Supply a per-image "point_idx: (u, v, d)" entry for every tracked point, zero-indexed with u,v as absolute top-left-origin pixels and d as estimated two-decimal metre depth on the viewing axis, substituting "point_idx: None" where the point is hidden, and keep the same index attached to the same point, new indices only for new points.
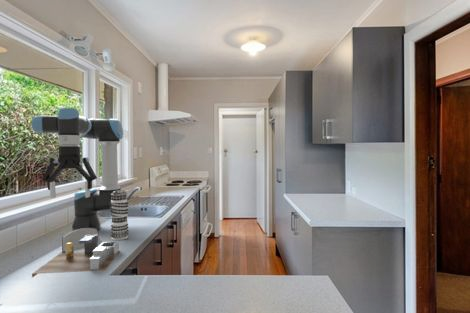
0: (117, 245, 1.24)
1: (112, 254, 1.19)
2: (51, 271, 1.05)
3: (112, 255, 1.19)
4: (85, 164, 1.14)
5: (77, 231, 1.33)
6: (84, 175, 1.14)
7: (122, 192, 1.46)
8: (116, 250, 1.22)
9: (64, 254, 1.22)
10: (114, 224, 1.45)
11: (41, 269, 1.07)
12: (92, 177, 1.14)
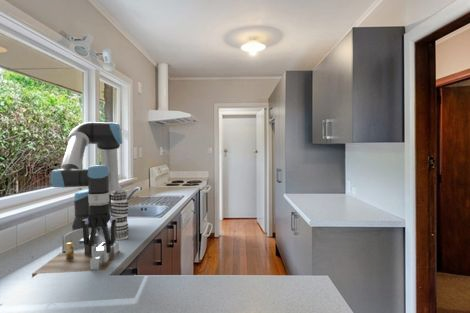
0: (117, 245, 1.24)
1: (112, 254, 1.19)
2: (51, 271, 1.05)
3: (112, 255, 1.19)
4: (112, 226, 1.11)
5: (77, 231, 1.33)
6: (106, 238, 1.11)
7: (122, 192, 1.46)
8: (116, 250, 1.22)
9: (64, 254, 1.22)
10: None
11: (41, 269, 1.07)
12: (112, 241, 1.12)
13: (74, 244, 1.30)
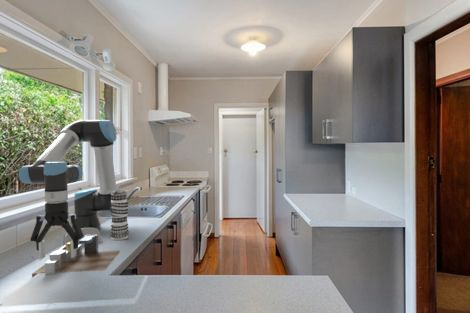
0: (79, 248, 1.20)
1: (72, 258, 1.15)
2: None
3: (72, 259, 1.15)
4: (73, 222, 1.08)
5: None
6: (70, 234, 1.08)
7: (122, 192, 1.46)
8: (78, 253, 1.18)
9: None
10: (114, 224, 1.45)
11: (41, 269, 1.07)
12: (78, 236, 1.08)
13: None
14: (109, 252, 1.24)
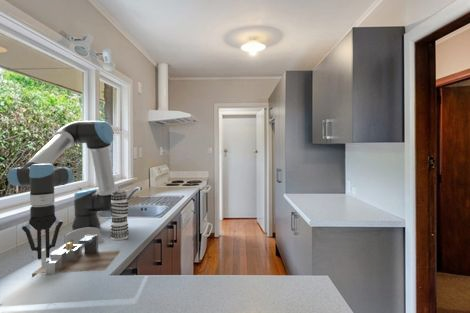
0: (80, 248, 1.20)
1: (73, 258, 1.15)
2: None
3: (73, 259, 1.15)
4: (57, 228, 1.07)
5: (79, 230, 1.34)
6: (47, 241, 1.05)
7: (122, 192, 1.46)
8: (78, 253, 1.18)
9: None
10: (114, 224, 1.45)
11: (41, 269, 1.07)
12: (53, 244, 1.06)
13: (76, 243, 1.31)
14: (109, 252, 1.24)
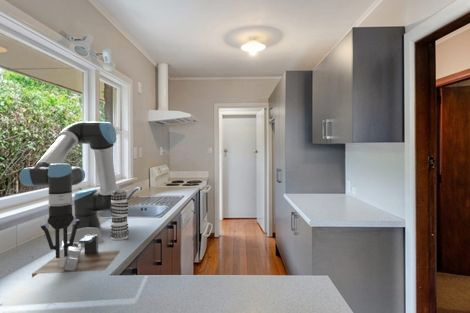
0: None
1: None
2: (51, 271, 1.05)
3: None
4: (75, 227, 1.07)
5: (79, 230, 1.34)
6: (65, 240, 1.06)
7: (122, 192, 1.46)
8: None
9: None
10: (114, 224, 1.45)
11: (41, 269, 1.07)
12: (71, 243, 1.07)
13: None
14: (109, 252, 1.24)
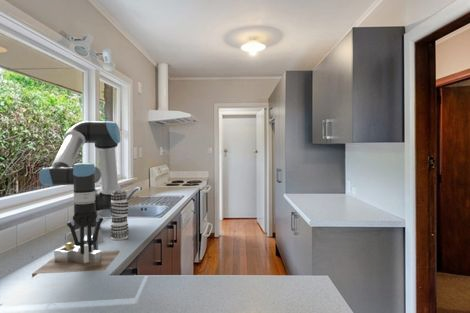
0: None
1: None
2: (51, 271, 1.05)
3: None
4: (98, 224, 1.12)
5: None
6: (89, 237, 1.10)
7: (122, 192, 1.46)
8: None
9: None
10: (114, 224, 1.45)
11: (41, 269, 1.07)
12: (95, 239, 1.11)
13: None
14: (109, 252, 1.24)
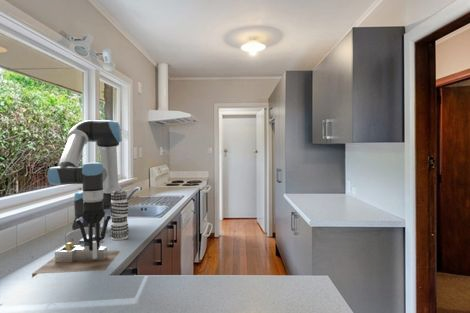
0: None
1: None
2: (51, 271, 1.05)
3: None
4: (106, 222, 1.16)
5: (80, 230, 1.35)
6: (98, 234, 1.14)
7: (122, 192, 1.46)
8: None
9: None
10: (114, 224, 1.45)
11: (41, 269, 1.07)
12: (103, 237, 1.15)
13: (76, 243, 1.32)
14: (109, 252, 1.24)
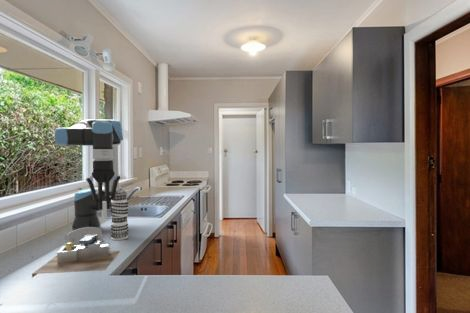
0: None
1: None
2: (51, 271, 1.05)
3: None
4: (116, 182, 1.16)
5: (81, 229, 1.35)
6: (107, 194, 1.14)
7: (122, 192, 1.46)
8: None
9: None
10: (114, 224, 1.45)
11: (41, 269, 1.07)
12: (112, 196, 1.15)
13: (76, 242, 1.32)
14: None
